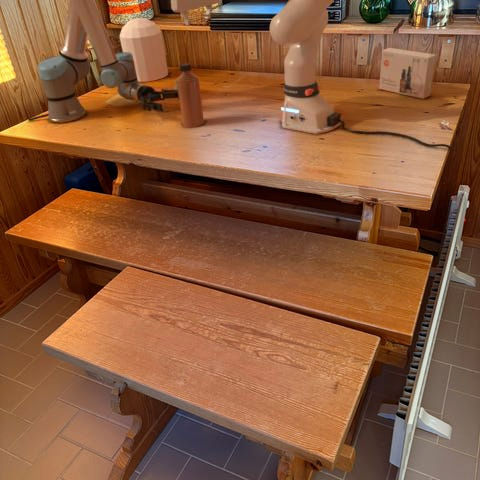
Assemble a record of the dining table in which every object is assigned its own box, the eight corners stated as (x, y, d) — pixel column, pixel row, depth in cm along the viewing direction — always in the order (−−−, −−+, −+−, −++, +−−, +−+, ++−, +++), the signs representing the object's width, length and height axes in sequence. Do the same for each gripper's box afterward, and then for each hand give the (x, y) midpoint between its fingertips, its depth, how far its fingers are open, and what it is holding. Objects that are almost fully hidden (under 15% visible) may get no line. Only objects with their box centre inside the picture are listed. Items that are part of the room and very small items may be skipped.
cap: (184, 68, 171) (183, 62, 170) (193, 69, 169) (192, 63, 168) (178, 71, 168) (177, 65, 167) (187, 72, 167) (186, 66, 165)
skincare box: (377, 89, 194) (381, 50, 185) (385, 86, 197) (389, 47, 188) (423, 99, 180) (429, 56, 171) (430, 95, 183) (437, 53, 174)
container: (160, 81, 233) (149, 21, 217) (121, 82, 238) (108, 23, 222) (174, 69, 249) (165, 13, 233) (138, 70, 254) (126, 15, 238)
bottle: (191, 118, 185) (182, 61, 173) (208, 120, 181) (201, 63, 169) (178, 125, 179) (169, 67, 167) (196, 128, 175) (187, 69, 163)
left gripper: (168, 95, 205) (199, 103, 192) (121, 111, 191) (151, 121, 178) (165, 77, 201) (197, 84, 188) (117, 93, 187) (147, 102, 174)
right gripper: (176, -18, 149) (182, 28, 157) (220, -27, 160) (224, 17, 168) (163, -19, 152) (170, 27, 160) (208, -27, 164) (212, 16, 172)
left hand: (175, 102), depth 183 cm, fingers open, 13 cm apart
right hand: (198, 22), depth 164 cm, fingers open, 8 cm apart
